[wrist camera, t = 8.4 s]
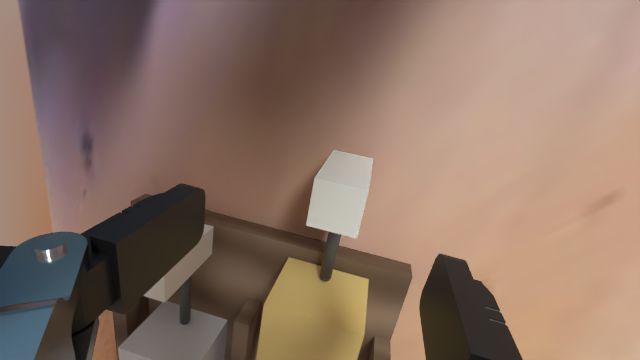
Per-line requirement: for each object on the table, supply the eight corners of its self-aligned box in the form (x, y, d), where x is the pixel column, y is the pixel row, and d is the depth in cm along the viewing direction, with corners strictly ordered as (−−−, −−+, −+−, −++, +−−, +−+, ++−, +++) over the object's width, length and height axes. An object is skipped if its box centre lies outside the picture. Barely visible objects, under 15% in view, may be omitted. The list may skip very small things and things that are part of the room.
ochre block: (307, 143, 19) (277, 169, 14) (401, 164, 18) (408, 200, 13) (280, 308, 24) (251, 374, 19) (354, 330, 23) (344, 405, 18)
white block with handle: (163, 212, 23) (101, 251, 18) (234, 232, 23) (191, 277, 18) (165, 341, 28) (117, 400, 23) (224, 361, 28) (187, 425, 22)
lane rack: (145, 194, 25) (103, 215, 21) (410, 264, 22) (415, 302, 19) (150, 328, 30) (117, 363, 27) (364, 398, 28) (361, 448, 24)
